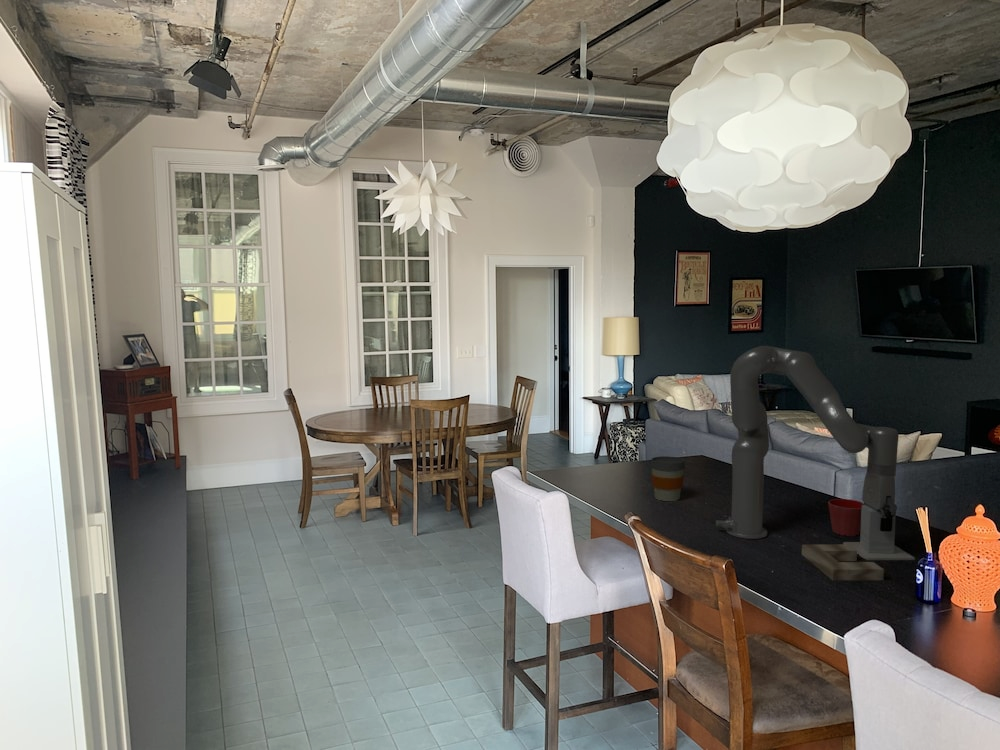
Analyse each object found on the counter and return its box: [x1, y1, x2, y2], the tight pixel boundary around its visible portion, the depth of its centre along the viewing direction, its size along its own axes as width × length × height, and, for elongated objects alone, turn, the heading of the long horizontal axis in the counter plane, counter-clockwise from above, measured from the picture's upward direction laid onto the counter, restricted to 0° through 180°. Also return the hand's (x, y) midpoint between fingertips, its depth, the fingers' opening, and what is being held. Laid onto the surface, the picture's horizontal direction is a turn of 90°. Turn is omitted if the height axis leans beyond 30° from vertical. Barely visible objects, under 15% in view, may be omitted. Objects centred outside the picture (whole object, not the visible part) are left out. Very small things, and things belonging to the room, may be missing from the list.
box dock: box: [801, 543, 885, 582], centre depth 205 cm, size 14×20×3 cm
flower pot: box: [827, 498, 864, 537], centre depth 234 cm, size 11×11×10 cm
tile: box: [842, 541, 916, 561], centre depth 217 cm, size 14×14×1 cm
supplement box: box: [859, 505, 897, 554], centre depth 216 cm, size 7×7×13 cm
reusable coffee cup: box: [650, 455, 686, 502], centre depth 275 cm, size 13×13×15 cm
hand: (877, 525), depth 216 cm, fingers open, 9 cm apart
